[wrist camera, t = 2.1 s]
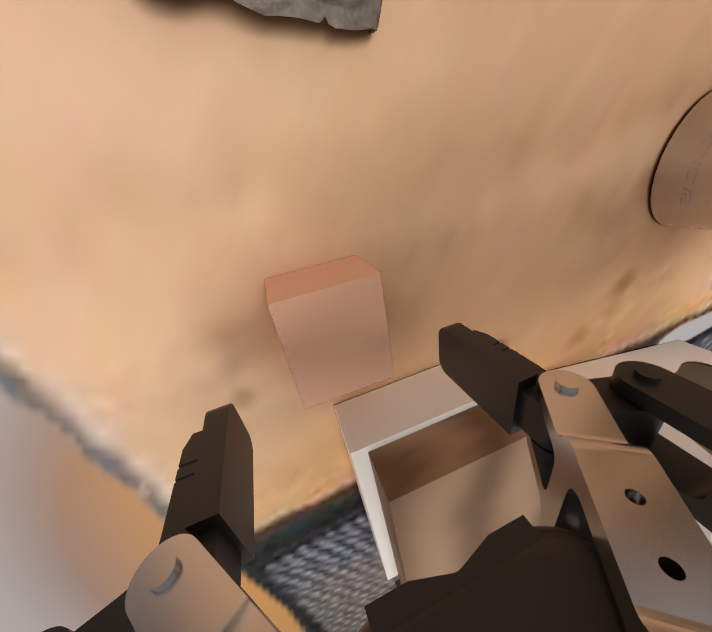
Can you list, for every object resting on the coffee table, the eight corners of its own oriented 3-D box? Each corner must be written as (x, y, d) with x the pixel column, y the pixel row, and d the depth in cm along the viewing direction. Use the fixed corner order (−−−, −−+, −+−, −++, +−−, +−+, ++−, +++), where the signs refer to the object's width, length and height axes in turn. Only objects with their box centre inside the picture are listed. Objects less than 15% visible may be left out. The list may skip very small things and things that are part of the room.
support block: (354, 254, 15) (380, 272, 12) (369, 342, 18) (394, 376, 15) (264, 277, 14) (267, 304, 11) (295, 367, 17) (305, 409, 14)
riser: (499, 342, 22) (544, 370, 19) (487, 473, 31) (516, 510, 27) (333, 405, 19) (350, 453, 16) (371, 531, 28) (388, 580, 24)
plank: (531, 381, 19) (575, 413, 16) (506, 527, 28) (531, 562, 26) (367, 452, 16) (389, 502, 14) (400, 585, 26) (417, 630, 23)
